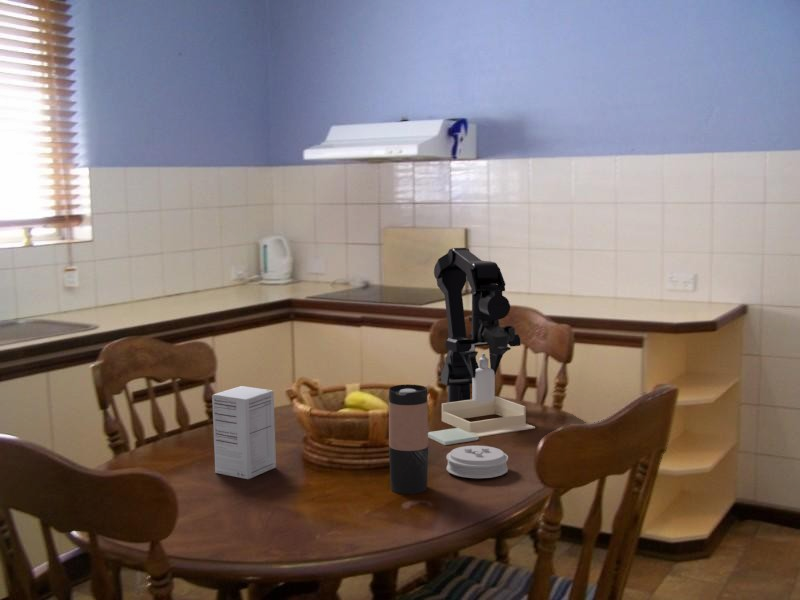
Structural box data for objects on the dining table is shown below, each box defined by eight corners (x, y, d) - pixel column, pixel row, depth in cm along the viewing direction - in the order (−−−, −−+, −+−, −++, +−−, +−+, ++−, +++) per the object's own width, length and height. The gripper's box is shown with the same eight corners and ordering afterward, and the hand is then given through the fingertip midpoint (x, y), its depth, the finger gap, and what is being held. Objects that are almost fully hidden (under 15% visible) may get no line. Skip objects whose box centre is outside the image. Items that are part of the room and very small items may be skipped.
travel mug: (419, 480, 191) (418, 382, 189) (434, 491, 184) (434, 390, 182) (383, 485, 189) (382, 386, 186) (397, 496, 182) (396, 394, 179)
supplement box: (243, 461, 206) (241, 385, 203) (277, 467, 201) (275, 389, 199) (213, 473, 197) (210, 393, 195) (247, 480, 193) (245, 398, 191)
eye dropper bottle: (471, 399, 238) (471, 352, 236) (493, 399, 238) (493, 351, 236) (472, 403, 233) (472, 355, 232) (495, 403, 233) (495, 354, 232)
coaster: (425, 435, 224) (425, 432, 224) (458, 430, 229) (458, 427, 229) (445, 445, 217) (445, 441, 217) (478, 439, 221) (478, 436, 221)
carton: (441, 421, 238) (441, 403, 238) (495, 413, 246) (495, 396, 245) (478, 437, 223) (479, 418, 223) (535, 428, 231) (535, 410, 230)
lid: (470, 486, 188) (470, 462, 187) (434, 470, 199) (434, 447, 198) (520, 475, 195) (520, 452, 194) (483, 460, 205) (483, 438, 205)
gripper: (468, 320, 221) (468, 386, 223) (534, 314, 230) (533, 378, 232) (444, 315, 231) (444, 378, 233) (508, 309, 240) (507, 370, 242)
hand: (483, 376), depth 235 cm, fingers closed on eye dropper bottle, 5 cm apart
